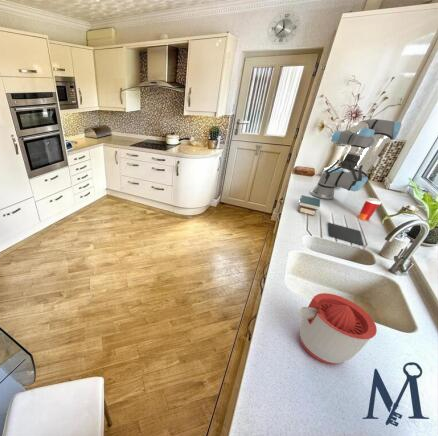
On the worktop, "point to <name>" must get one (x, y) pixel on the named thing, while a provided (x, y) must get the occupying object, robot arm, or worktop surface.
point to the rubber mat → (345, 234)
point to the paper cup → (369, 208)
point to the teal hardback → (309, 202)
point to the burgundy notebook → (306, 210)
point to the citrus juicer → (334, 328)
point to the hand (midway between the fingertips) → (336, 187)
